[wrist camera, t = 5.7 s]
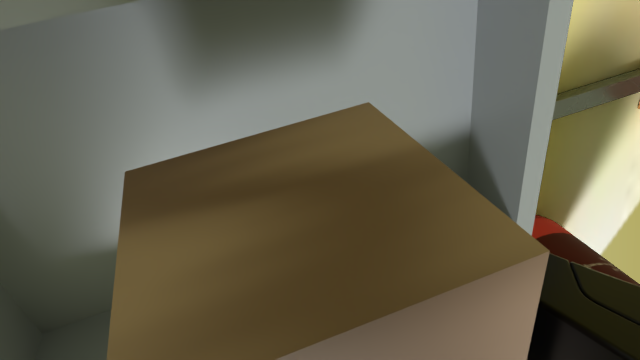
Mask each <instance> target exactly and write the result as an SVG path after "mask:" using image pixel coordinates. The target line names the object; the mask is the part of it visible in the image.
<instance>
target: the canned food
mask: <svg viewBox="0 0 640 360" xmlns="http://www.w3.org/2000/svg"><path fill="white" fill-rule="evenodd" d="M532 237H534V238H535V239H536V240H537V241H538V242H540V243H541V244H542V245H543V246H544V247H546V248H547V249H548V250H549V251H550V252H549V253H551V254H553V255H556V256H558V257H561V258H564V259H566V260H568V261H569V263H570V262H574V263H577V264H580V265H582V266H585V267H587V268H590V269H593V270H595V271H598V272H601V273H604V274H606V275H609V276H612V277H615V278H617V279H620V280H623V281H626V282H629V283H632V284H635V285H638V286H640V284H638V283H637V282H636V281H634V280H633V279H632V278H630V277H629V276H628V275H626V274H625V273H624V272H622V271H621V270H620V269H618V268H617V267H615V266H614V265H613V264H611V263H610V262H609V261H607V260H606V259H605V258H603V257H602V256H601V255H599V254H598V253H597V252H595V251H594V250H592V249H591V248H590V247H588V246H587V245H586V244H584V243H583V242H582V241H580V240H579V239H578V238H576V237H575V236H574V235H572V234H571V233H569V232H568V231H567V230H565V229H564V228H563V227H561V226H560V225H559V224H557V223H556V222H554V221H552V220H550V219H547V218H545V217H542V216H539V215H535V220H534V226H533V231H532Z"/></svg>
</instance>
